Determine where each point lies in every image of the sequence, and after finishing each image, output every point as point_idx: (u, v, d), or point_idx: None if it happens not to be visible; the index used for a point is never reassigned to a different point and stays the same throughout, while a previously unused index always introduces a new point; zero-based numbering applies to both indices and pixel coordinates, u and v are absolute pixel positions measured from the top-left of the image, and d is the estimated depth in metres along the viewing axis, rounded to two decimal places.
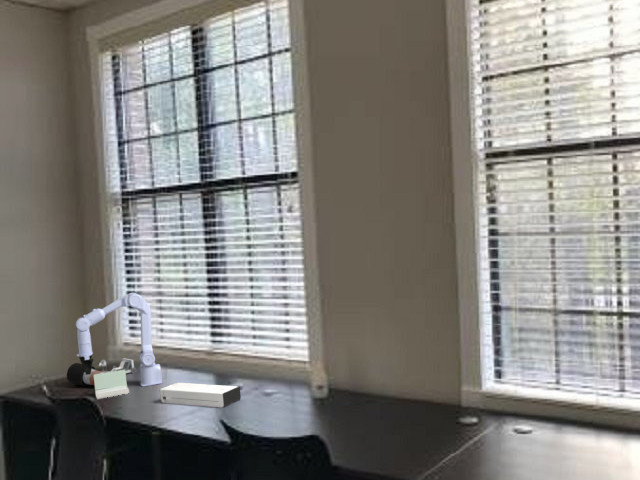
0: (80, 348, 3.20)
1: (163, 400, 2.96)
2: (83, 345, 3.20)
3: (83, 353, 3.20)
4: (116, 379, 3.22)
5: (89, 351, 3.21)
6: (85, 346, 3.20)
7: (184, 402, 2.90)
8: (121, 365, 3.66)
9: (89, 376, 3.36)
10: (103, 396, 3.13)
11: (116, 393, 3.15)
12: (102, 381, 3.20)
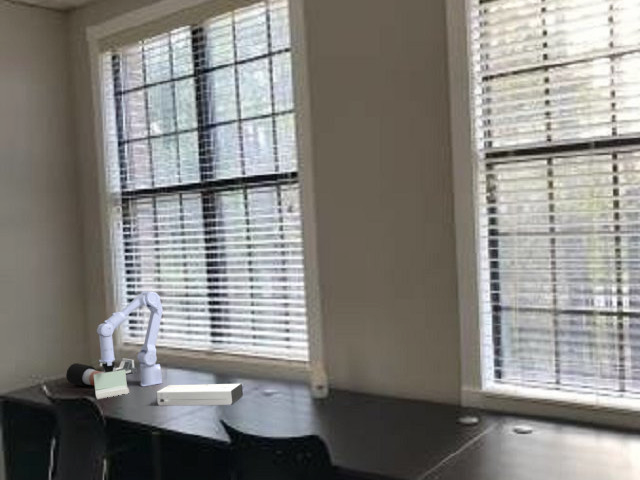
0: (102, 354, 3.20)
1: (160, 403, 2.92)
2: (105, 351, 3.20)
3: (105, 359, 3.20)
4: (116, 379, 3.22)
5: (111, 357, 3.21)
6: (107, 351, 3.20)
7: (186, 403, 2.89)
8: (121, 365, 3.66)
9: (89, 376, 3.36)
10: (103, 396, 3.13)
11: (116, 393, 3.15)
12: (102, 381, 3.20)
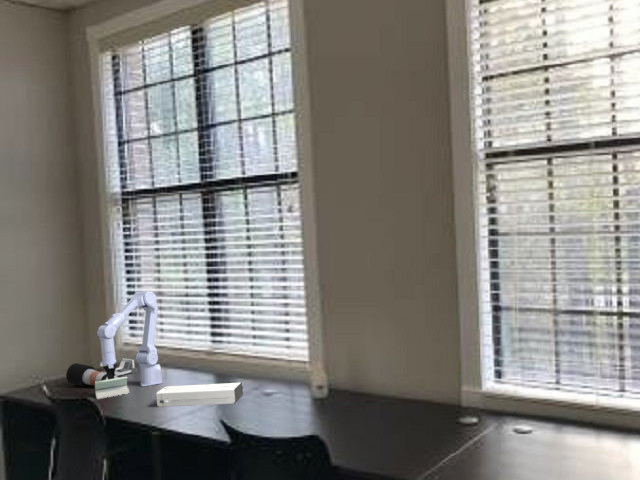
0: (103, 356, 3.15)
1: (160, 404, 2.90)
2: (107, 353, 3.15)
3: (107, 361, 3.15)
4: (117, 383, 3.20)
5: (113, 359, 3.16)
6: (109, 353, 3.15)
7: (187, 403, 2.88)
8: (121, 365, 3.66)
9: (89, 376, 3.35)
10: (103, 396, 3.13)
11: (116, 393, 3.15)
12: (103, 385, 3.17)
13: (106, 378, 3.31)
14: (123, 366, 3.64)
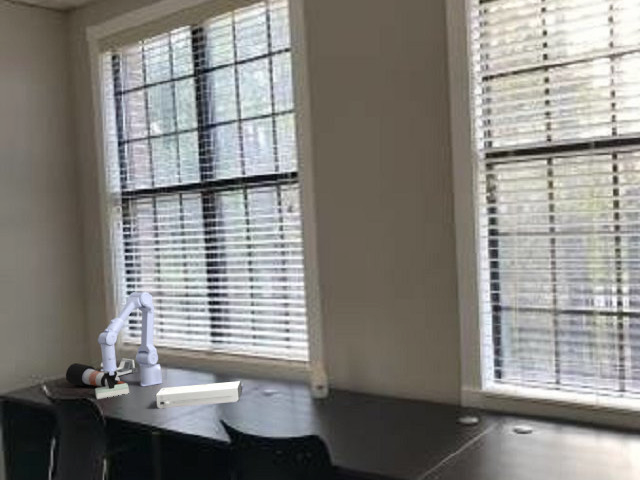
0: (104, 363, 3.14)
1: (160, 405, 2.87)
2: (107, 360, 3.13)
3: (107, 368, 3.14)
4: None
5: (113, 366, 3.15)
6: (109, 360, 3.14)
7: (189, 403, 2.88)
8: (121, 365, 3.66)
9: (89, 376, 3.35)
10: (103, 396, 3.13)
11: (116, 393, 3.15)
12: None
13: None
14: (123, 366, 3.64)
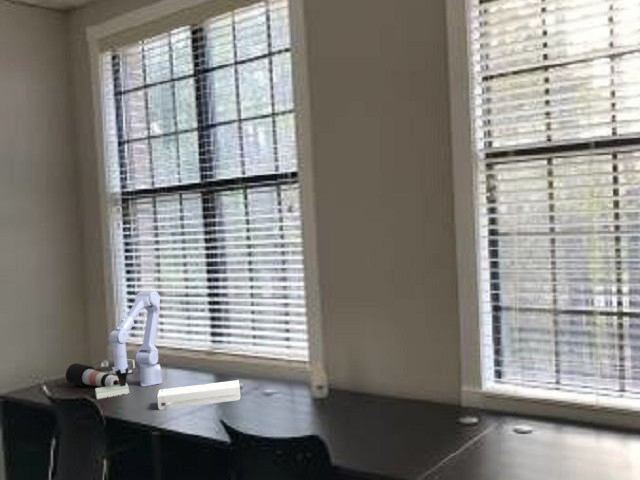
0: (115, 361, 3.17)
1: (161, 407, 2.85)
2: (119, 358, 3.16)
3: (119, 366, 3.17)
4: None
5: (125, 364, 3.18)
6: (121, 358, 3.17)
7: (191, 404, 2.87)
8: None
9: (88, 376, 3.35)
10: (103, 396, 3.13)
11: (116, 393, 3.15)
12: None
13: (106, 378, 3.31)
14: None
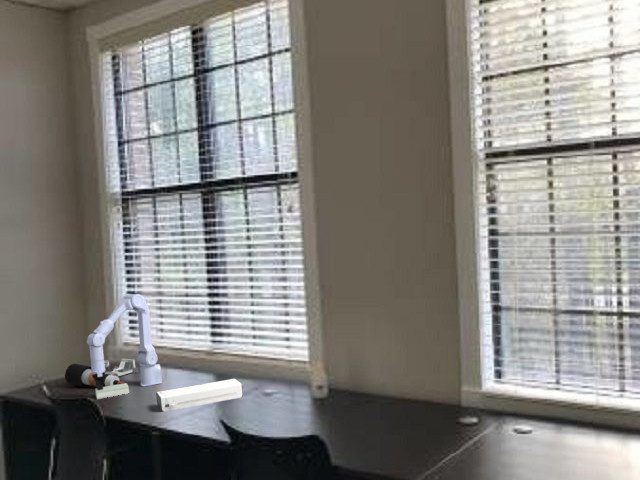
0: (92, 365, 3.13)
1: (165, 408, 2.82)
2: (96, 361, 3.13)
3: (96, 370, 3.13)
4: None
5: (102, 367, 3.14)
6: (98, 362, 3.13)
7: (194, 404, 2.87)
8: (121, 365, 3.65)
9: (88, 376, 3.35)
10: (103, 396, 3.13)
11: (116, 393, 3.15)
12: None
13: (106, 378, 3.30)
14: (123, 366, 3.64)
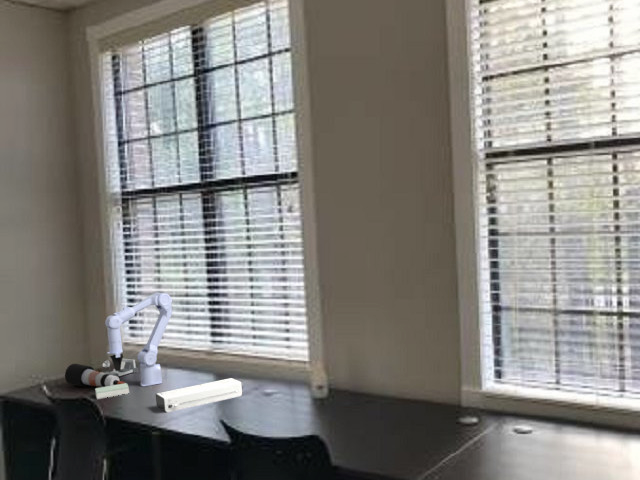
0: (110, 346, 3.22)
1: (168, 409, 2.81)
2: (114, 343, 3.22)
3: (114, 351, 3.22)
4: None
5: (119, 349, 3.23)
6: (116, 343, 3.22)
7: (196, 403, 2.87)
8: (121, 365, 3.65)
9: (88, 376, 3.35)
10: (103, 396, 3.13)
11: (116, 393, 3.15)
12: None
13: (106, 378, 3.30)
14: (124, 366, 3.64)
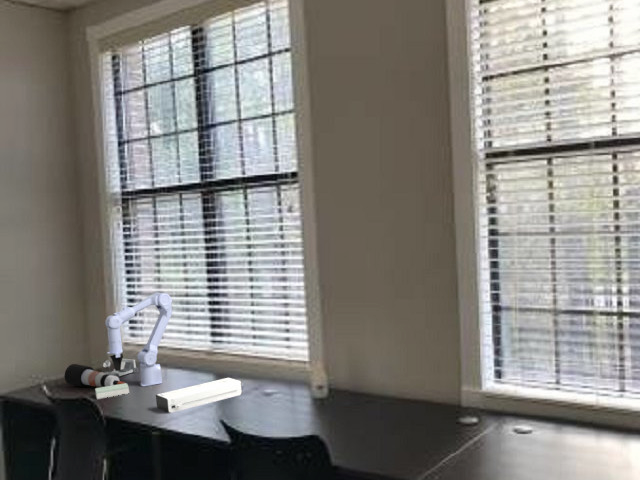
0: (110, 346, 3.22)
1: (172, 409, 2.80)
2: (114, 343, 3.22)
3: (114, 351, 3.22)
4: None
5: (119, 349, 3.23)
6: (116, 343, 3.22)
7: (198, 403, 2.87)
8: (121, 366, 3.65)
9: (88, 377, 3.35)
10: (103, 396, 3.13)
11: (116, 393, 3.15)
12: None
13: (106, 378, 3.30)
14: (124, 366, 3.63)
